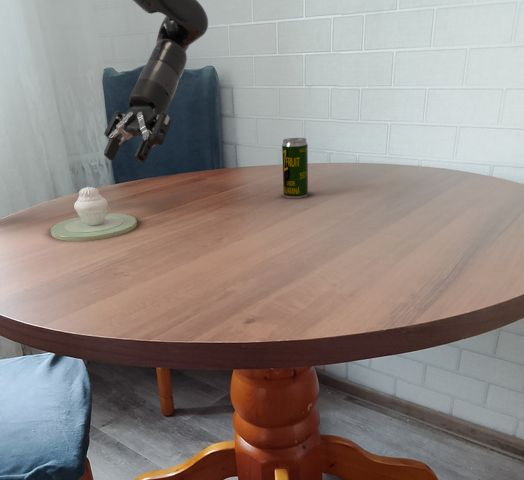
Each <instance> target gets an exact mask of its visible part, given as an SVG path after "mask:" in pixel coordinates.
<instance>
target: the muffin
mask: <svg viewBox="0 0 524 480" xmlns="http://www.w3.org/2000/svg"><path fill="white" fill-rule="evenodd" d="M108 206H109V203H108V200H107V199H106V198H105V197H103V196H102V195H101V194H100V191H99V190H98V189H97V188H95V187H92V186H86V187H83V188H81V189H80V190H79V191H78V198H77V200H76V201H75V202H74V206H73V208H74V210H75V211H76V213H77V215H78V217H81V219H82V220H83V221H84V222H85V224H86V225H89V226H95V225H100V224H102V223H103V222H104V219H105V216H106V214H108Z"/></svg>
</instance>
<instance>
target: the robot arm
mask: <svg viewBox="0 0 524 480" xmlns="http://www.w3.org/2000/svg"><path fill="white" fill-rule="evenodd" d="M132 1H133V2H134V3H135V4H136V5H137V6H138V7H139V8H141V10H143V11H144V12H145V13H148V14H157V13H159V14H162V15H163V16H165V17H164V19H163V20H162V22H161V24H160V27H159V30H158V34H157V38H156V42H155V46H154V47H153V49H152V51H151V54H150V56H149V57H148V60H147V62H146V64H145V65H144V67H143V68H142V70H141V72H140V73H139V76H138V79H137V80H136V83H135V85H134V87H133V88H132V92H131V93H130V96H129V98H128V103H129V109H128V110H127V111H126V112H125V113H121V112H120V110H119V109H118V110H115V111H114V113H113V115H112V117H111V119H110V121H109V123H108V124H107V126H106V129H105V131H104V132H103V135H104V136H105V137H106V138H107V139H108V142H107V144H106V146H105V149H104V152H103V155H104V157H105V158H107V160H108V161H114V160H115V158H116V155H117V153H118V151H119V149H120V147H121V145H122V144H123V143H124V142H125V141H126V140H127V141H129V140H130V139H131V138H133V137H138V136H139V137H142V139H143V140H142V139H141V140H140V142H139V144H138V147H137V149H136V151H135V153H134V158H135V159H136V160H137V162H139V163H141V164H144V163H145V162H146V160H147V159H148V157H149V154H150V152H151V150H152V148H155V146H156V145H158V146H162V145H163V144H164V143H165V139H166V136H167V134H168V132H169V129H170V127H171V124H172V119H171V118H170V116H169V115H168V113H167V111H168V110H169V108H170V105H171V103H172V101H173V99H174V96H175V94H176V91H177V88H178V85H179V82H180V79H181V78H182V76H183V74H184V71H185V69H186V67H187V62H188V55H187V50H188V49H189V47H190V46H191V44H193V43H195V42H196V41H198V40H199V39H200V38H202V37H203V36H205V34H206V32H208V29H209V18H208V15H207V12H206V10H205V9H204V7H203V6H202V5H201V3H200V2H199V1H198V0H132ZM124 128H125V129H126V130H125V129H124ZM120 134H121V135H120ZM119 135H120V136H119Z"/></svg>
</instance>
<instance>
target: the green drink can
mask: <svg viewBox="0 0 524 480" xmlns="http://www.w3.org/2000/svg"><path fill="white" fill-rule="evenodd" d="M308 149H309V146H308V142H307V138H305V137H289V138H283V139H282V144H281V154H282V157H281V158H282V189H283V192H282V193H283V196H284V198H286V199H293V200H294V199H297V200H298V199H304V198H306V197H307V196H308V194H309V168H308V167H309V157H308V155H309V154H308V153H309V151H308Z"/></svg>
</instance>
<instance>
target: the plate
mask: <svg viewBox="0 0 524 480" xmlns="http://www.w3.org/2000/svg"><path fill="white" fill-rule="evenodd" d="M137 225H138V222H137V218H136V217H135V216H132V215H129V214H124V213H111V212H109V213H106V216H105V219H104V222H103V223H102V224H100V225H95V226H89V225H86V224H85V222H84V221H83V220H82V219H81V217H80V216H77V217H72V218H68V219H65V220H63V221H60V222H57V223H56V224H55V225H52V227H51V228H50V233H51V234H50V235H51V236H52V237H53V238H55V239H57V240H60V241H69V242H85V241H95V240H102V239H108V238H113V237H116V236H120V235H123V234H126V233H128V232H131V231H132V230H134V229H135V228H136V227H137Z"/></svg>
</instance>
